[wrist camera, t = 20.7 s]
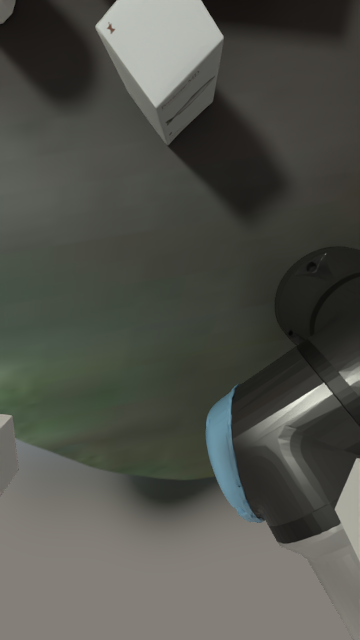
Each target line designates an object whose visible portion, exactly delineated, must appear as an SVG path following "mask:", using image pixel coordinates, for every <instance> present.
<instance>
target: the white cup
mask: <svg viewBox="0 0 360 640" xmlns="http://www.w3.org/2000/svg"><path fill="white" fill-rule="evenodd" d="M15 2H16V0H0V24H3V23H4V22H5V21H6V20H7V19H8V18H9V17H10V15H11V14H12V13H13V9H14V6H15Z"/></svg>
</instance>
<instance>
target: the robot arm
mask: <svg viewBox="0 0 360 640" xmlns="http://www.w3.org/2000/svg"><path fill="white" fill-rule="evenodd" d="M275 314H276V318H277V321H278V323H279V325H280V327H281V329H282V330H283V331H284V333H285V334H286V335H287V336H288V338H289V339H290V340H291V341H292V342H294V343H295V344H296V345H298V346H296V347H297V348H296V347H294V348H293V349H292V350H290V351H289V352H287V353H286V354H285V355H283V356H282V357H280V358H279V359H278V360H276V361H275V362H273V363H272V364H270V365H269V366H267V367H266V368H264V369H263V370H261V371H260V372H259V373H257V374H256V375H254V376H253V377H251V378H250V379H248V380H247V381H245V382H244V383H242V384H238V385H236V386H235V387H234V388H233V389H232V391H231V392H230V393H229V394H227V395H226V396H225V397H223V398H222V399H221V400H220V401H218V402H217V403H216V404H215V405H214V406H213V407H212V408H211V410H210V412H209V414H208V417H207V422H206V428H207V429H206V442H207V449H208V454H209V458H210V461H211V464H212V468H213V470H214V473H215V476H216V478H217V481H218V483H219V485H220V487H221V490H222V491H223V493H224V495H225V497H226V498H227V500H228V502H229V503H230V504H231V506H232V507H234V508H236V510H237V513H238V514H239V515H240V516H241V517H242V518H243V519H245V520H247V521H249V522H257V523H261V522H263V521H265V520H266V522H267V524H268V525H269V527H270V529H271V531H272V533H273V534H274V536H275V538H276V540H277V542H278V544H279V545H280V546H281V547H283V548H286V549H288V550H291V551H293V552H296V553H298V554H301V555H302V556H303V557H305V558H306V559H307V560H308V562H309V564H310V565H311V567H312V569H313V571H314V572H315V574H316V576H317V578H318V579H319V581H320V583H321V585H322V586H323V588H324V590H325V591H326V593H327V595H328V597H329V599H330V600H331V602H332V604H333V605H334V607H335V609H336V611H337V613H338V614H339V615H340V618H341V619H342V621H343V623H344V625H345V626H346V628H347V630H348V632H349V633H350V635H351V637H352V639H353V640H360V250H358V249H353V248H348V247H328V248H323V249H320V250H317V251H314V252H312V253H310V254H308V255H306V256H304V257H303V258H301V259H300V260H299V261H297V262H296V263H295V264H294V265H293V266H292V267H291V268H290V269H289V270H288V271H287V273H286V274H285V275H284V277H283V279H282V280H281V282H280V284H279V287H278V289H277V293H276V297H275ZM18 470H19V468H18V460H17V453H16V443H15V434H14V426H13V418H12V416H11V415H2V414H0V496H1V495H2V493H3V492H4V490H5V489H6V487H7V486H8V485H9V483H10V482H11V480H12V479H13V477H14V476H15V475H16V473H17V471H18Z"/></svg>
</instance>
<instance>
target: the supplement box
mask: <svg viewBox="0 0 360 640" xmlns="http://www.w3.org/2000/svg"><path fill="white" fill-rule="evenodd" d="M96 30H97V32H98V34H99V36H100V38H101V40H102V42H103V44H104V45H105V47H106V49H107V51H108V53H109V55H110V57H111V59H112V61H113V63H114V65H115V67H116V69H117V71H118V73H119V75H120V77H121V79H122V81H123V83H124V85H125V87H126V89H127V91H128V92H129V94H130V95H131V97H132V98H133V100H134V101H135V102H136V104H137V105H138V107H139V108H140V109H141V111H142V112H143V114H144V115H145V117H146V118H147V119H148V121H149V122H150V123H151V125H152V126H153V127H154V129H155V130H156V131H157V133H158V134H159V136H160V137H161V138H162V140H163V141H164V142H165V144H166V145H169V144H170V143H171V142H172V141H173V140H174V139H175V137H176V136H177V135H178V134H179V133H180V132H181V131H182V130H183V129H184V128H185V127H186V126H187V125H188V124H189V123H190V122H191V121H192V120H194V119H195V118H196V117H197V116H198V115H199V114H200V113H201V112H202V111H203V110H204V109H205V108H206V107H208V106H209V105H210V104H211V103H212V102H213V98H214V93H215V87H216V81H217V76H218V70H219V64H220V58H221V52H222V46H223V40H224V36H223V35H222V33H221V32H220V30H219V29H218V27H217V25H216V24H215V22H214V20H213V19H212V17H211V16H210V14H209V12H208V11H207V9H206V7H205V6H204V4H203V2H202V1H201V0H117V1H116V2H115V3H114V4H113V6H112V7H111V8H110V9H109V10H108V12H107V13H106V14H105V15H104V16H103V18H102V19H101V20H100V21H99V22H98V23H97V25H96Z"/></svg>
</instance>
